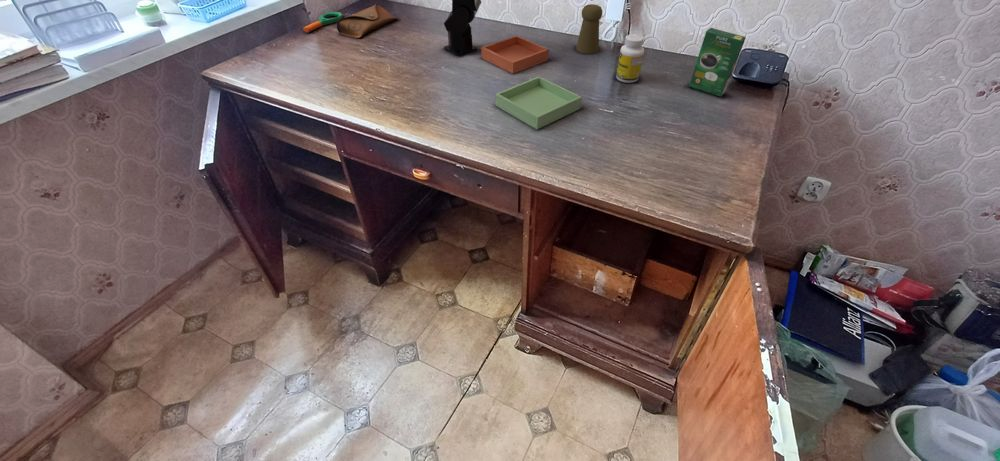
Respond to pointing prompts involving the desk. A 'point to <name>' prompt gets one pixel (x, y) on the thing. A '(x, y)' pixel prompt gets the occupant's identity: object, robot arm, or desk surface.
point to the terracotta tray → (515, 54)
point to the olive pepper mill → (589, 29)
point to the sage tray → (538, 102)
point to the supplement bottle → (630, 59)
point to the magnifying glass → (324, 21)
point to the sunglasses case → (364, 21)
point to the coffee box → (716, 61)
